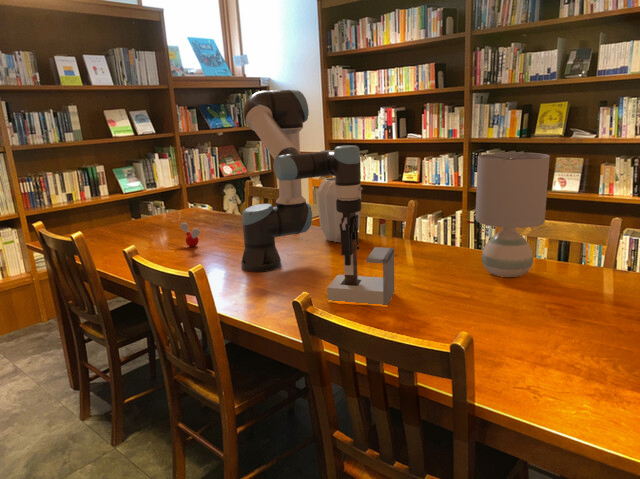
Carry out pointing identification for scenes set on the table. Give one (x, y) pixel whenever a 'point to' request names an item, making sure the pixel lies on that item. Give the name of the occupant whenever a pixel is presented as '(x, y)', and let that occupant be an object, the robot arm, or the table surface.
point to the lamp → (510, 207)
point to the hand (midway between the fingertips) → (350, 271)
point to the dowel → (353, 278)
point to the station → (367, 282)
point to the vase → (330, 210)
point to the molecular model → (190, 235)
